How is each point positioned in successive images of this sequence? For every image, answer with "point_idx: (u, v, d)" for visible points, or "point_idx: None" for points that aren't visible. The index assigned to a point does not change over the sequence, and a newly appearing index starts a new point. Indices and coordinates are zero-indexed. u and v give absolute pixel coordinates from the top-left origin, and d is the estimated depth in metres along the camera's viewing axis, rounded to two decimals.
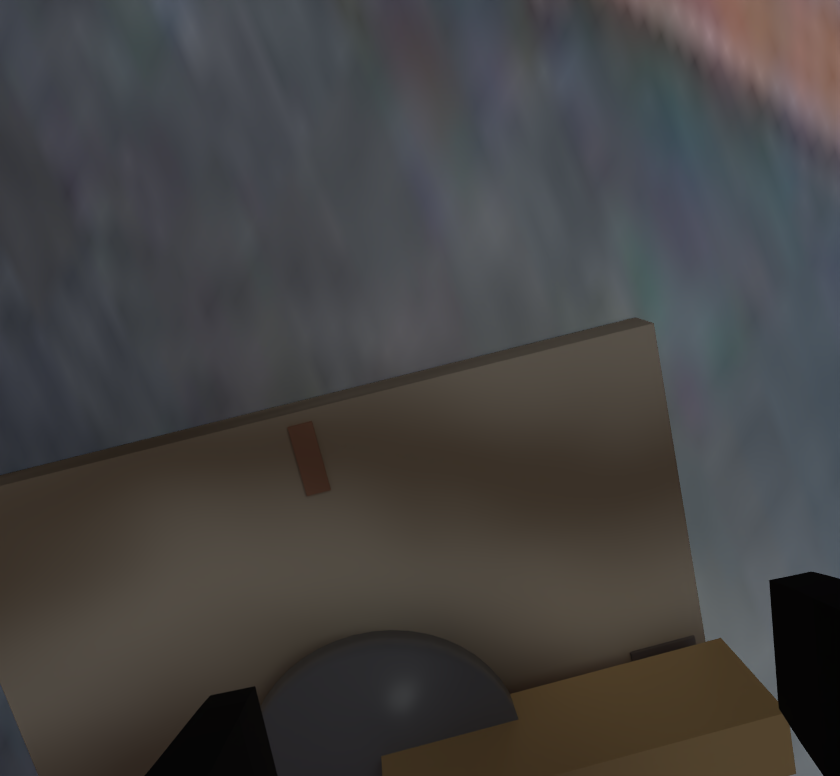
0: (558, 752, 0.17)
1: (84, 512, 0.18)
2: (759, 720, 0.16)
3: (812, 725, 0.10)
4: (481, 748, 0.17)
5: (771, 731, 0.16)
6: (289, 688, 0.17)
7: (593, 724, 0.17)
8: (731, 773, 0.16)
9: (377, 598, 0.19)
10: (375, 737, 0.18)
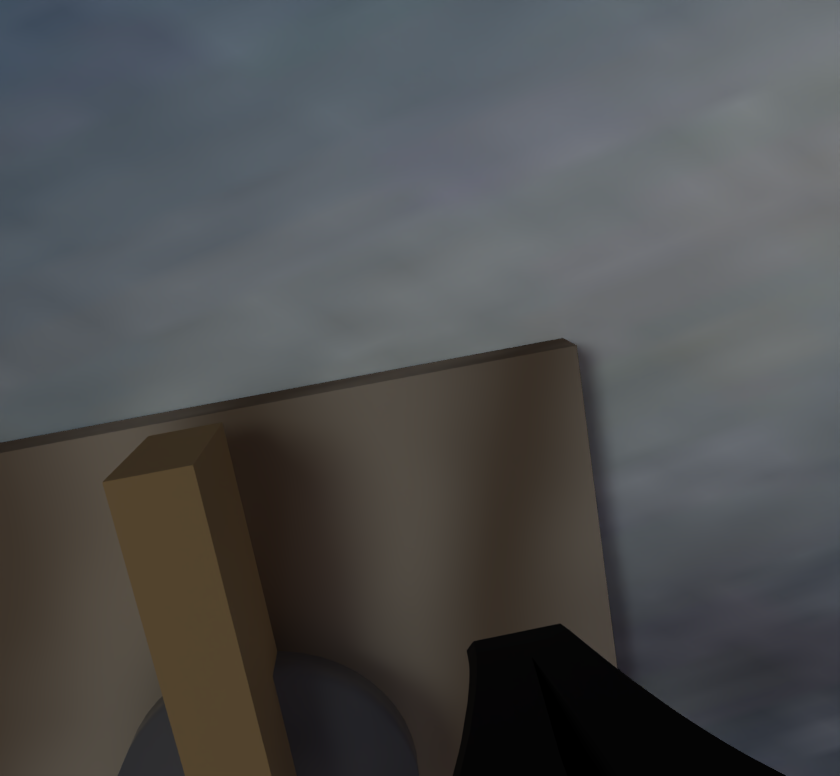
0: None
1: None
2: (115, 512, 0.13)
3: None
4: None
5: (129, 499, 0.13)
6: None
7: None
8: (186, 544, 0.13)
9: None
10: None
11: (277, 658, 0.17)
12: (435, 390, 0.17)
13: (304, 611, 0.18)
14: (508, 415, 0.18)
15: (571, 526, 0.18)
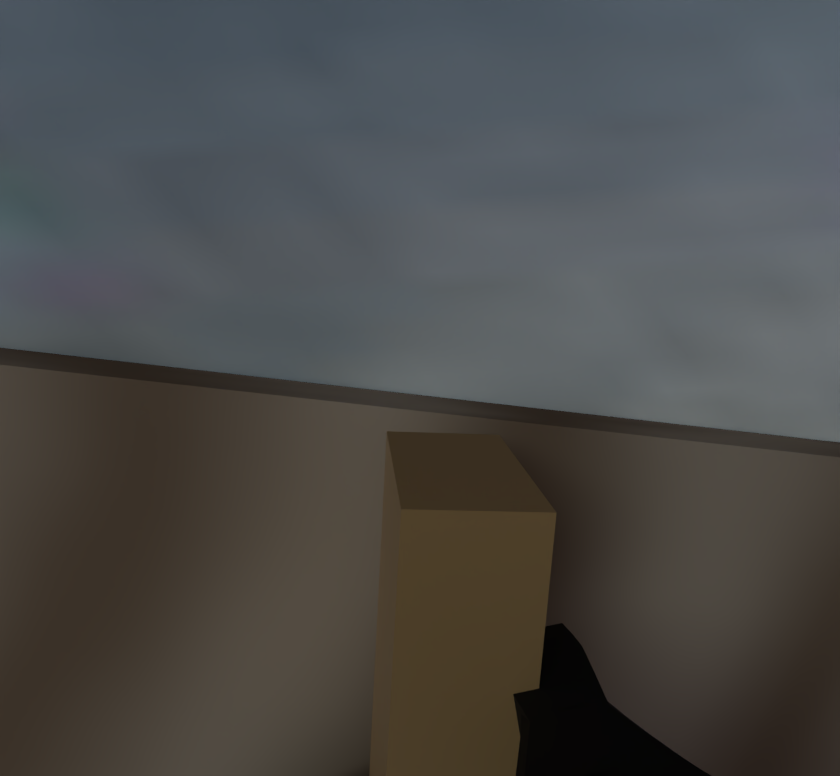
0: None
1: None
2: (404, 564, 0.08)
3: None
4: None
5: (435, 548, 0.08)
6: None
7: (378, 774, 0.09)
8: (501, 641, 0.08)
9: None
10: None
11: None
12: (800, 478, 0.12)
13: None
14: None
15: None
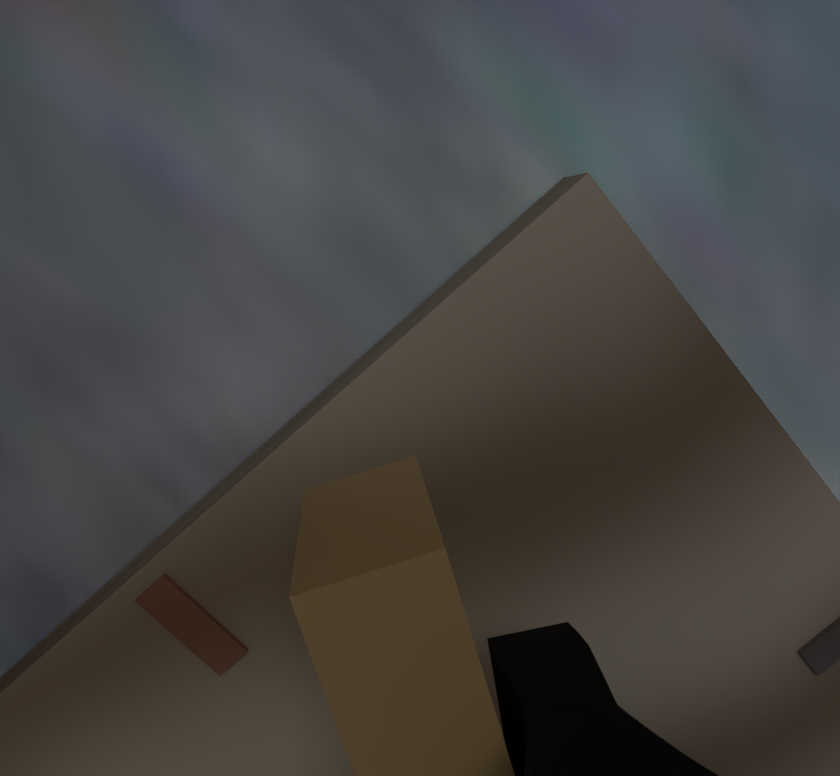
0: None
1: None
2: (315, 645, 0.07)
3: None
4: None
5: (338, 621, 0.07)
6: None
7: None
8: (440, 685, 0.08)
9: None
10: None
11: None
12: None
13: None
14: None
15: None
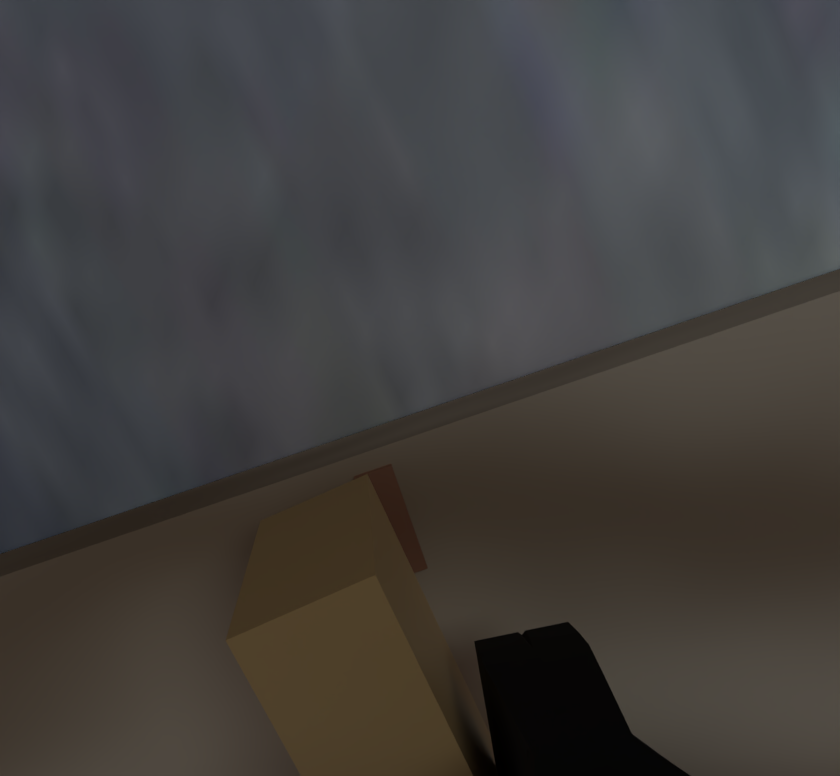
0: None
1: (46, 636, 0.11)
2: (260, 684, 0.07)
3: None
4: None
5: (278, 659, 0.07)
6: None
7: None
8: (391, 710, 0.08)
9: None
10: None
11: None
12: None
13: None
14: None
15: None
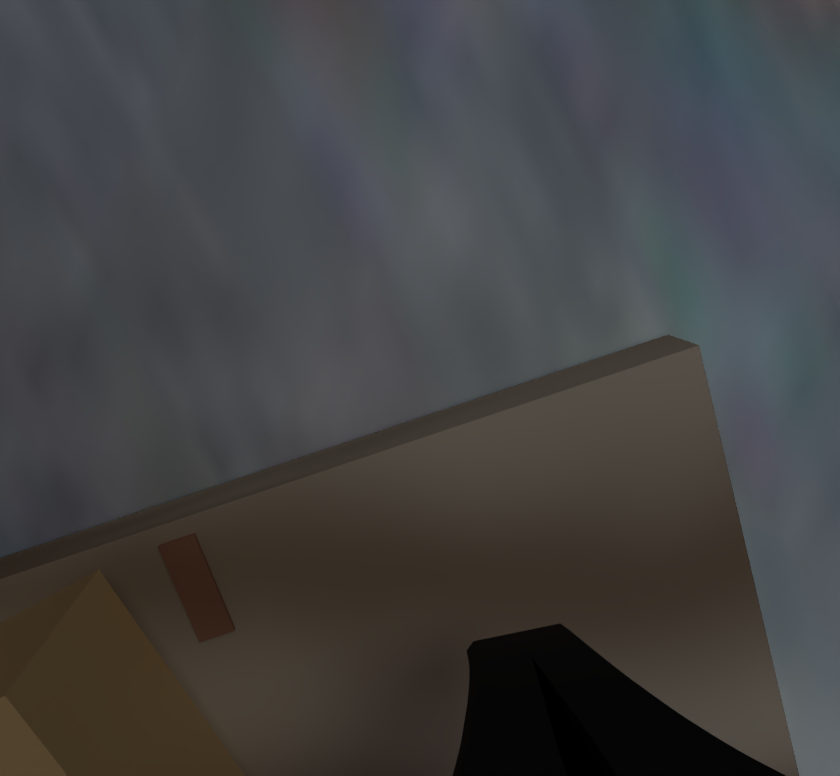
0: None
1: None
2: None
3: None
4: None
5: None
6: None
7: None
8: None
9: (322, 773, 0.13)
10: None
11: None
12: None
13: None
14: None
15: None
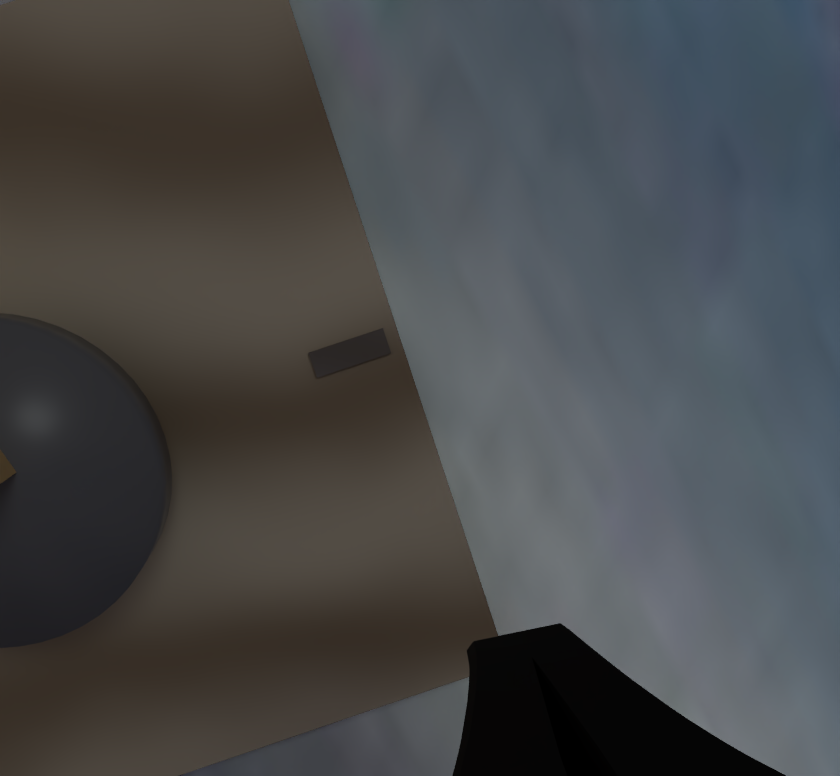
0: None
1: None
2: None
3: None
4: None
5: None
6: None
7: None
8: None
9: None
10: None
11: None
12: (451, 551, 0.18)
13: (202, 464, 0.17)
14: (435, 619, 0.19)
15: (333, 697, 0.19)
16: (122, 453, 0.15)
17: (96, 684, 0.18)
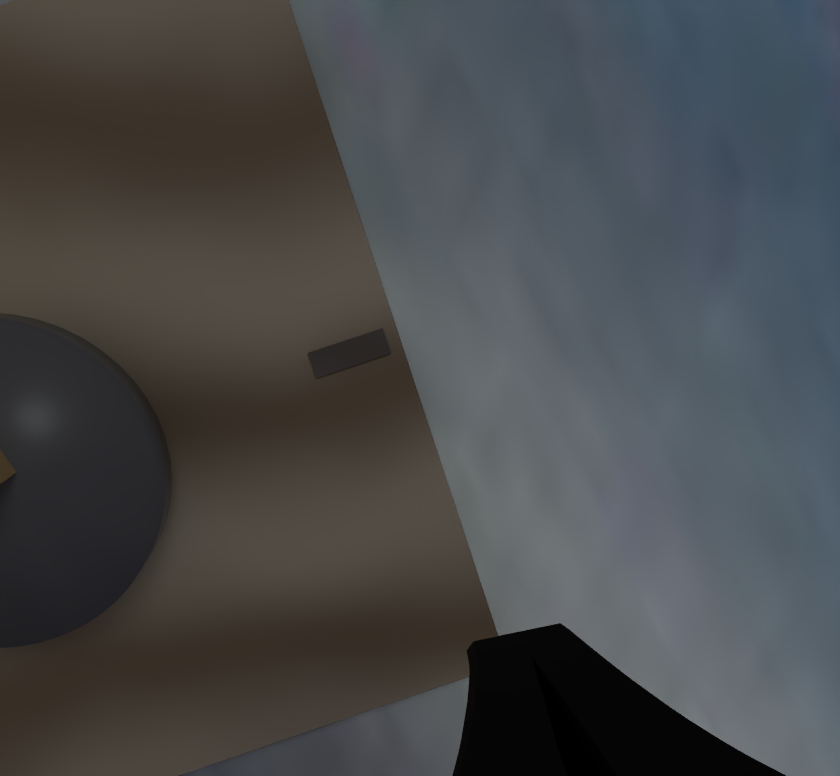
0: None
1: None
2: None
3: None
4: None
5: None
6: None
7: None
8: None
9: None
10: None
11: None
12: (451, 551, 0.18)
13: (202, 464, 0.17)
14: (435, 619, 0.19)
15: (333, 697, 0.19)
16: (122, 453, 0.15)
17: (96, 685, 0.18)
